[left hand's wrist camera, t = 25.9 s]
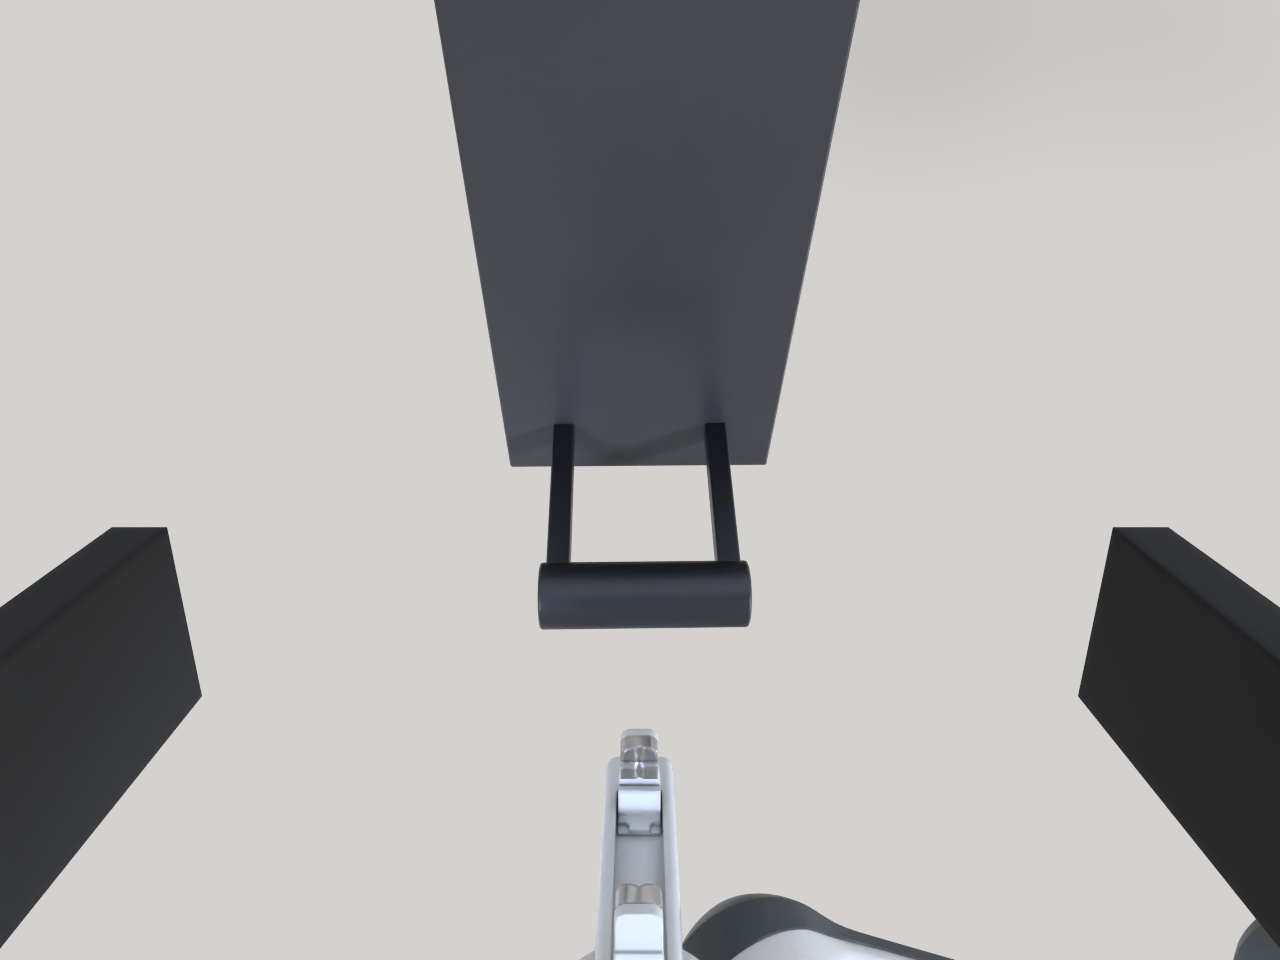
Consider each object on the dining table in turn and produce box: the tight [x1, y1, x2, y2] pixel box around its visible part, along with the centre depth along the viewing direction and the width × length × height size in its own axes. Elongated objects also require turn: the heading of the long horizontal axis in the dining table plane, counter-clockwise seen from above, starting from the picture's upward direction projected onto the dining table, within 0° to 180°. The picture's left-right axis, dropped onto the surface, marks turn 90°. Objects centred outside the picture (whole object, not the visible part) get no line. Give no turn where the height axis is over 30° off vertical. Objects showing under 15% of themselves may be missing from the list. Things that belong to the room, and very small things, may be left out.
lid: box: [434, 0, 860, 629], centre depth 23 cm, size 17×9×9 cm
